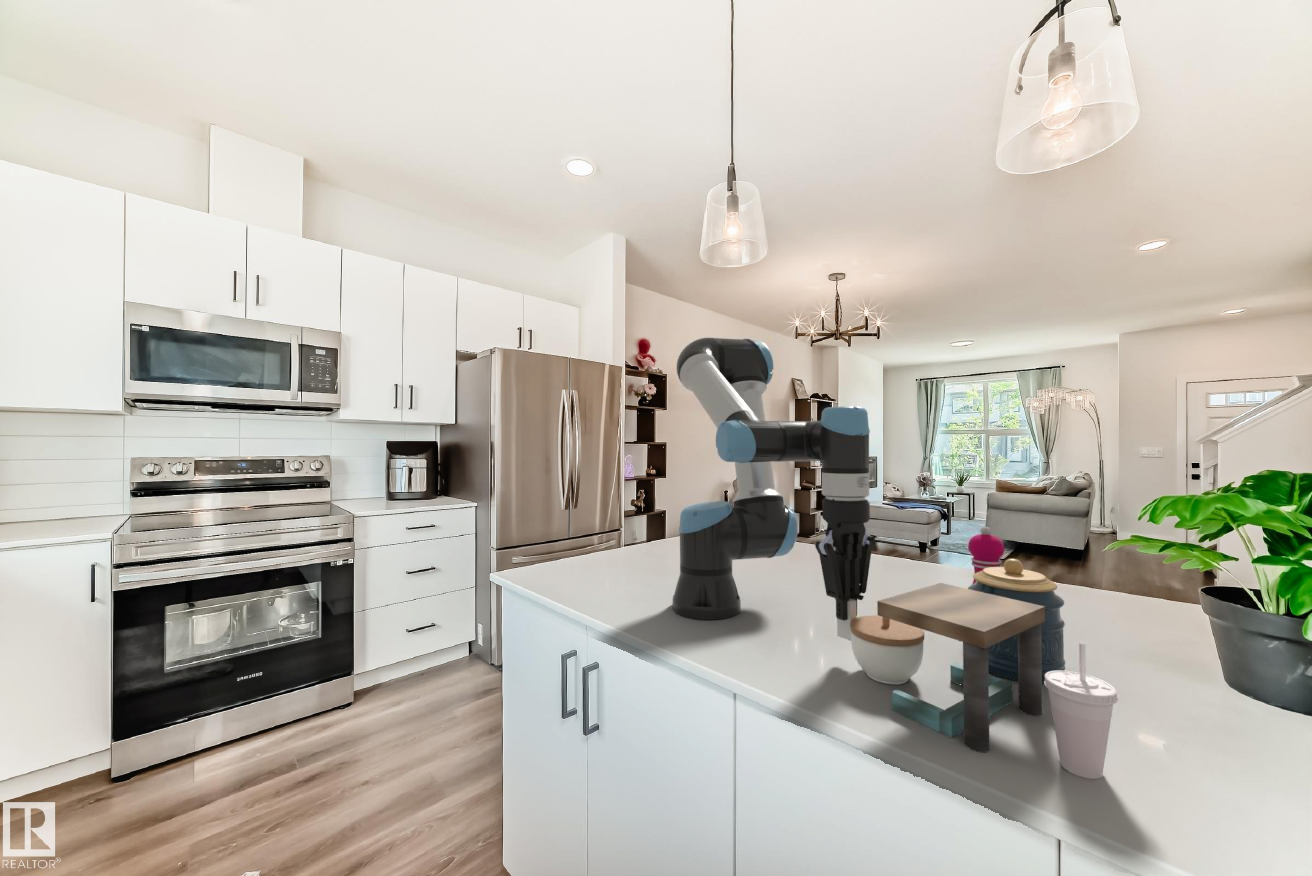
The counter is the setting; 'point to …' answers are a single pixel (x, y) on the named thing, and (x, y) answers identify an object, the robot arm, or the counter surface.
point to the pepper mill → (985, 550)
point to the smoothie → (1081, 718)
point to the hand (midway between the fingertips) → (846, 637)
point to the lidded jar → (887, 648)
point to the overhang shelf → (972, 655)
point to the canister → (1031, 590)
